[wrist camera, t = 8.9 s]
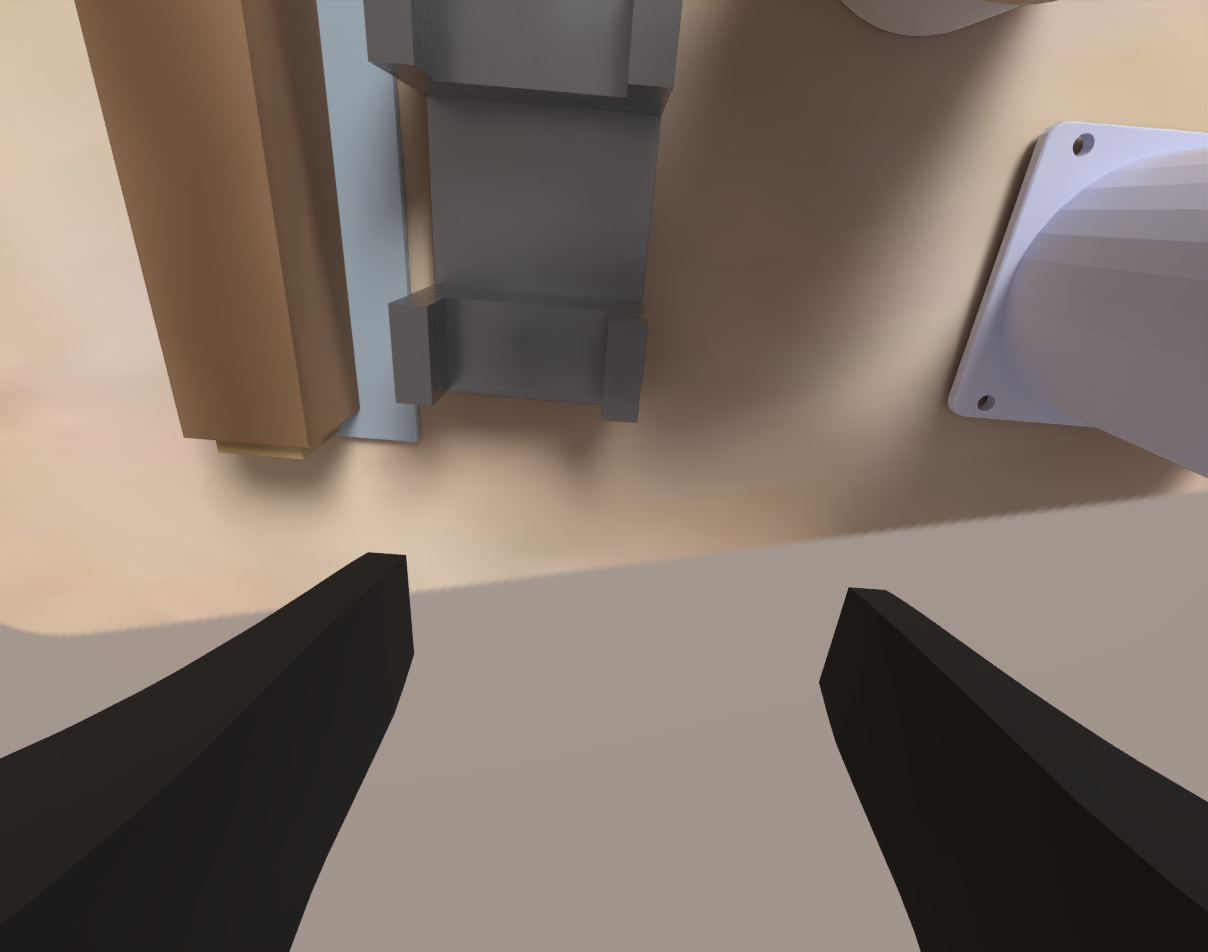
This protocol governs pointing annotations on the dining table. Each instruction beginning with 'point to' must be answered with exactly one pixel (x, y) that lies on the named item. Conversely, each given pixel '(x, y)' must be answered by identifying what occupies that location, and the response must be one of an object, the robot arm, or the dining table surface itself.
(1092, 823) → the robot arm
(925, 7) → the coffee cup
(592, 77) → the stand
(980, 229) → the dining table surface
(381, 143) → the mat
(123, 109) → the rail
